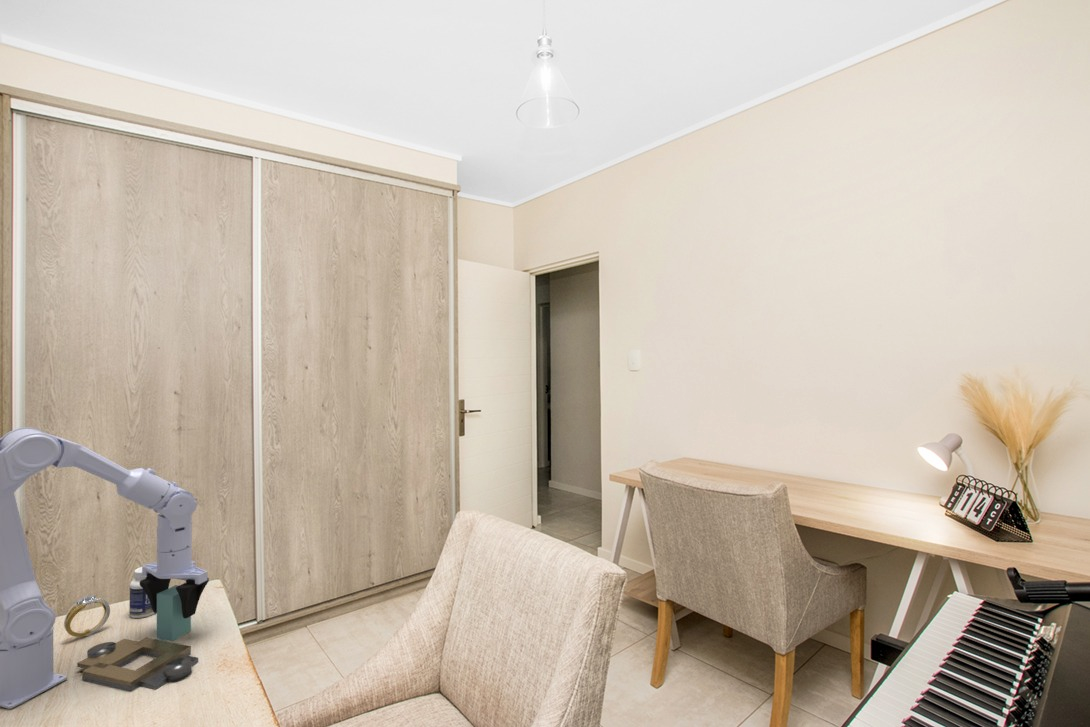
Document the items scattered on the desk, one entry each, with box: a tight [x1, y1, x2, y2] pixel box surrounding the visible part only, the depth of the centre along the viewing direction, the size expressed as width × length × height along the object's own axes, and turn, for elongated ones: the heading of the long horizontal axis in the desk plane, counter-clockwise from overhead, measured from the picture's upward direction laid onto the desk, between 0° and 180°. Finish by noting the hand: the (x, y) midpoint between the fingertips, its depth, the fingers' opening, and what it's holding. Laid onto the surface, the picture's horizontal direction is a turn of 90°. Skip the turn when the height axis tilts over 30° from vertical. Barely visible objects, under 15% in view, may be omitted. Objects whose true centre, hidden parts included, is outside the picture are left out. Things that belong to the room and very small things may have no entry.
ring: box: [63, 594, 111, 638], centre depth 102 cm, size 7×3×8 cm, turn 146°
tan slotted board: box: [76, 637, 192, 687], centre depth 93 cm, size 16×11×2 cm, turn 76°
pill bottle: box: [128, 566, 156, 619], centre depth 111 cm, size 5×5×10 cm
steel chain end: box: [81, 649, 199, 692], centre depth 91 cm, size 16×11×2 cm, turn 76°
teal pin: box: [156, 584, 192, 642], centre depth 103 cm, size 4×4×9 cm
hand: (174, 613), depth 103 cm, fingers open, 7 cm apart
